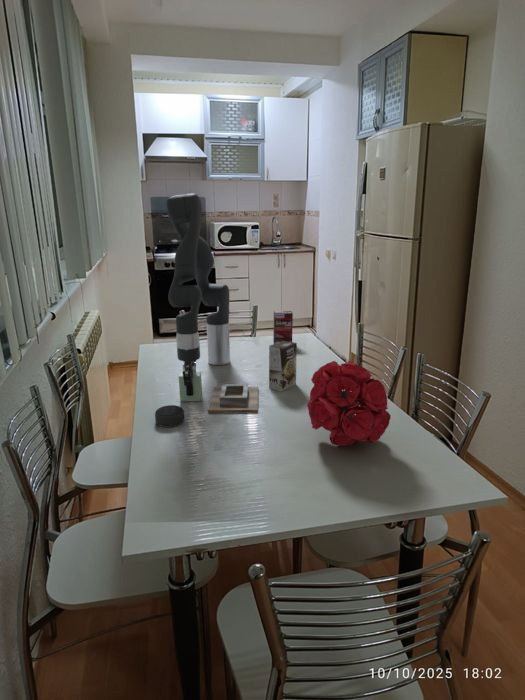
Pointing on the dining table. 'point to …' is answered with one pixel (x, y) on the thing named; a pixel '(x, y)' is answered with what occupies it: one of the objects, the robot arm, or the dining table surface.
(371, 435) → the bouquet
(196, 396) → the keyed block
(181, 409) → the smart speaker
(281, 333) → the supplement box
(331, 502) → the dining table surface
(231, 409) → the keyed holder
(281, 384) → the coffee box
